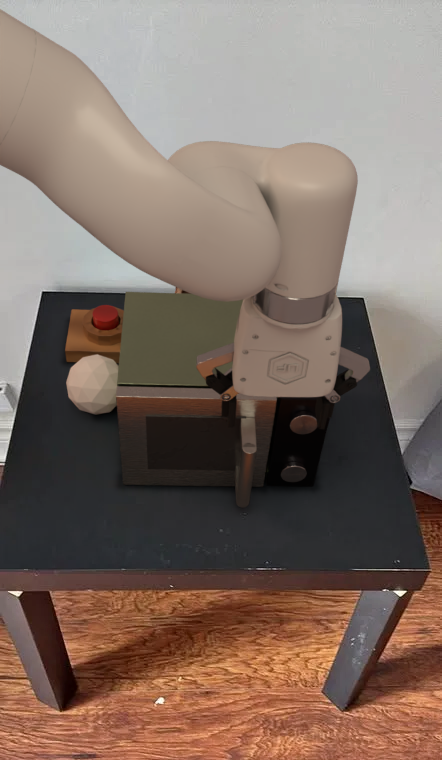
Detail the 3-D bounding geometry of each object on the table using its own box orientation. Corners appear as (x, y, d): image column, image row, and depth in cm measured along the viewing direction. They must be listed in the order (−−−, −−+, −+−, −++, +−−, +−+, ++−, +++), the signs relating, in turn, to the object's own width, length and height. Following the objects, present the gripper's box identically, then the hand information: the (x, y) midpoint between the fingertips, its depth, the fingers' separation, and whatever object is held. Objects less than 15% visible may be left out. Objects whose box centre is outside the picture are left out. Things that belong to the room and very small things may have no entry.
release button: (117, 331, 106) (117, 321, 105) (92, 330, 106) (91, 320, 104) (119, 314, 108) (118, 305, 107) (94, 314, 108) (93, 304, 107)
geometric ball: (89, 427, 103) (49, 405, 97) (96, 374, 105) (58, 349, 99) (134, 419, 99) (96, 396, 93) (140, 365, 102) (103, 338, 95)
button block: (144, 364, 107) (143, 342, 104) (66, 362, 107) (63, 340, 104) (146, 322, 113) (145, 301, 110) (73, 320, 112) (70, 299, 109)
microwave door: (265, 521, 91) (280, 436, 79) (120, 519, 90) (112, 432, 78) (262, 477, 96) (276, 389, 83) (123, 474, 95) (116, 385, 82)
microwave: (313, 492, 95) (335, 404, 82) (122, 489, 93) (115, 399, 81) (301, 388, 106) (318, 297, 93) (131, 384, 105) (125, 291, 92)
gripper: (197, 314, 65) (194, 444, 78) (396, 318, 65) (359, 446, 79) (197, 261, 69) (195, 392, 83) (382, 266, 70) (350, 395, 83)
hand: (275, 418), depth 81 cm, fingers open, 9 cm apart
